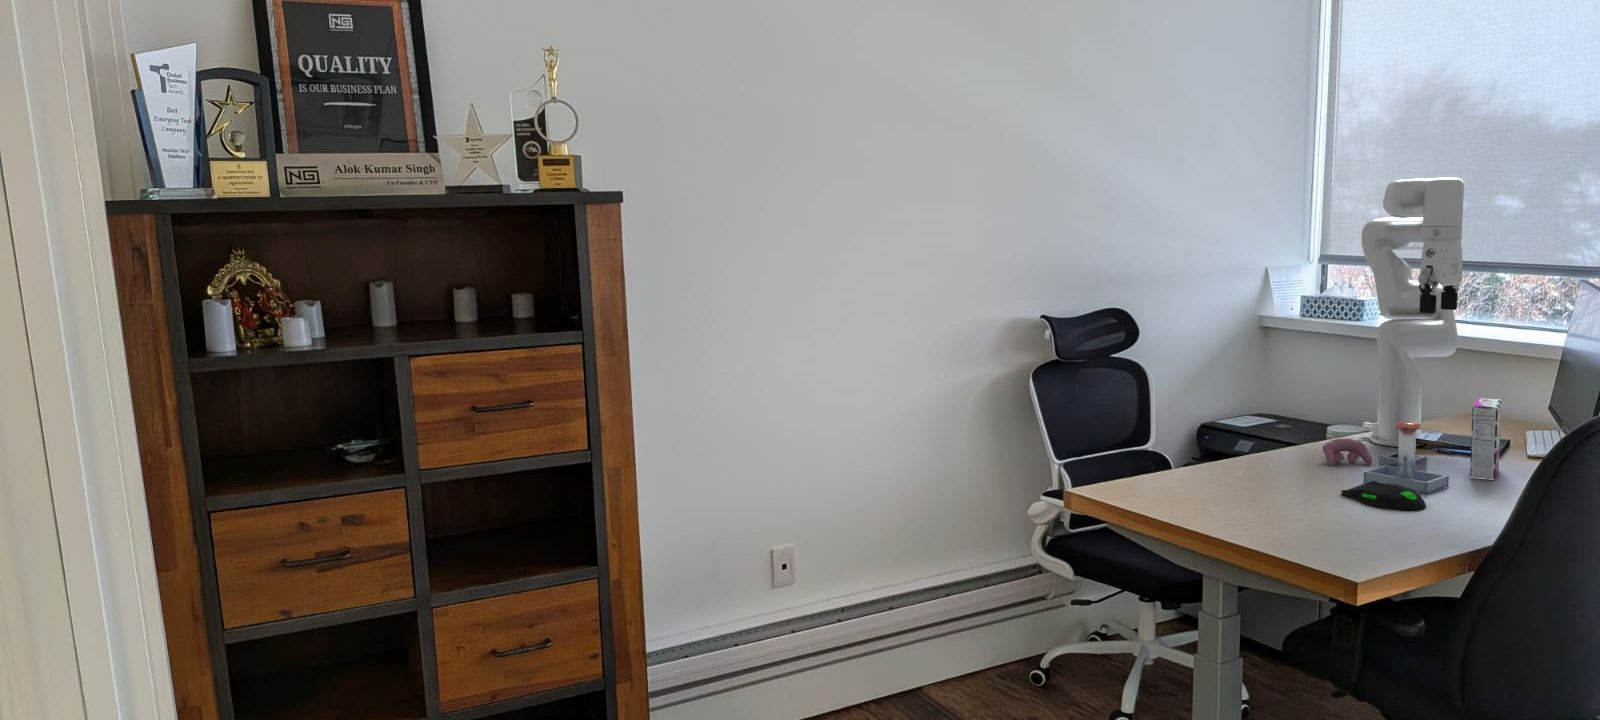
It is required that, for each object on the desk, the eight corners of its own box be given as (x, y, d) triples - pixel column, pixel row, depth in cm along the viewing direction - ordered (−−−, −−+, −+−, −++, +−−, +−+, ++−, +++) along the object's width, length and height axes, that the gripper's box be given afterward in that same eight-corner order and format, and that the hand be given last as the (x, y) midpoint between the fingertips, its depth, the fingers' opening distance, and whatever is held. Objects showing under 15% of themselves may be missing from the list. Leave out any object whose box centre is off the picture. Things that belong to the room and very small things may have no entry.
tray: (1363, 482, 226) (1363, 471, 226) (1384, 475, 232) (1385, 465, 231) (1427, 494, 216) (1427, 482, 215) (1448, 487, 221) (1448, 475, 220)
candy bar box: (1472, 467, 236) (1476, 397, 234) (1498, 470, 233) (1502, 399, 231) (1468, 478, 227) (1471, 405, 225) (1495, 481, 224) (1499, 407, 222)
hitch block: (1378, 473, 234) (1378, 456, 233) (1393, 468, 237) (1394, 451, 237) (1410, 479, 228) (1411, 461, 227) (1426, 474, 232) (1426, 456, 231)
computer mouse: (1394, 516, 203) (1395, 497, 202) (1328, 496, 218) (1329, 478, 218) (1439, 510, 206) (1440, 490, 205) (1371, 490, 222) (1372, 472, 221)
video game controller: (1366, 468, 245) (1361, 440, 247) (1374, 464, 240) (1369, 435, 243) (1323, 469, 245) (1318, 441, 248) (1330, 465, 241) (1325, 436, 243)
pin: (1389, 481, 224) (1391, 423, 223) (1399, 478, 227) (1402, 420, 225) (1411, 485, 221) (1413, 426, 219) (1421, 482, 223) (1424, 423, 221)
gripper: (1441, 235, 221) (1437, 315, 223) (1478, 232, 231) (1474, 309, 233) (1404, 236, 227) (1401, 313, 230) (1442, 233, 237) (1439, 307, 239)
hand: (1438, 311), depth 231 cm, fingers open, 9 cm apart
